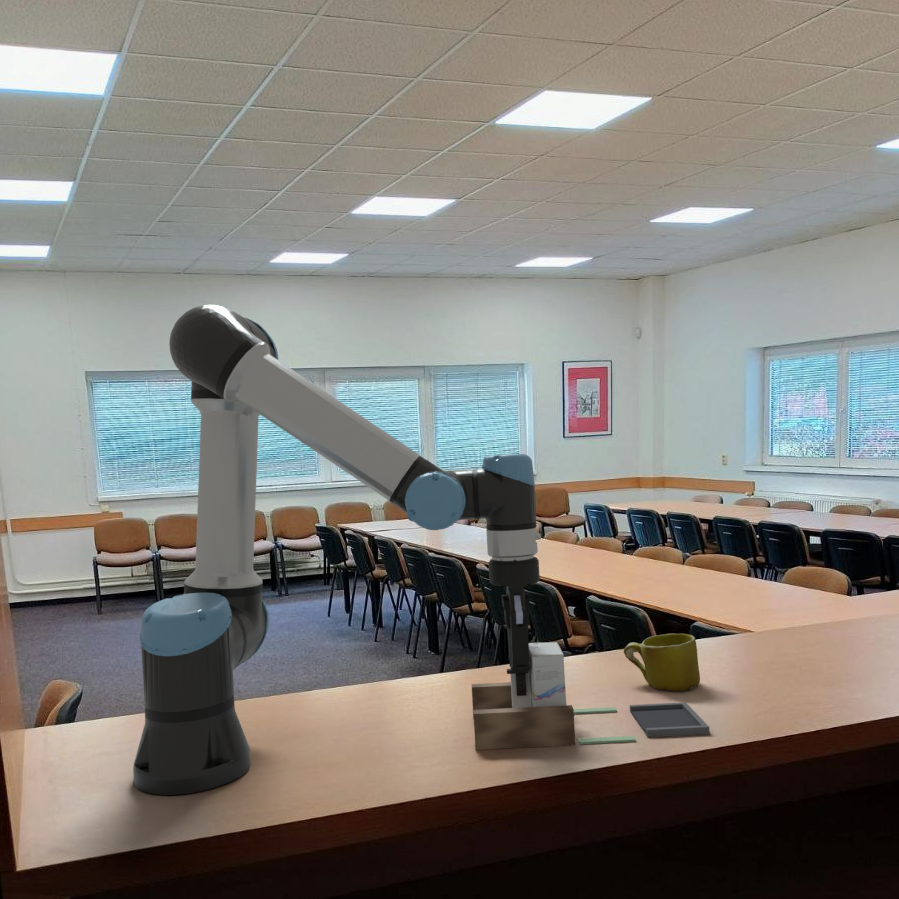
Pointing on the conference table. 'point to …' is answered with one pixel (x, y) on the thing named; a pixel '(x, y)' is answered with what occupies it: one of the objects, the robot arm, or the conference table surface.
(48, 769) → the conference table surface
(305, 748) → the conference table surface
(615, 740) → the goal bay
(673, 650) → the mug
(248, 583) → the robot arm
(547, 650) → the ink box
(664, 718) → the grey flat tray
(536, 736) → the tunnel walls
